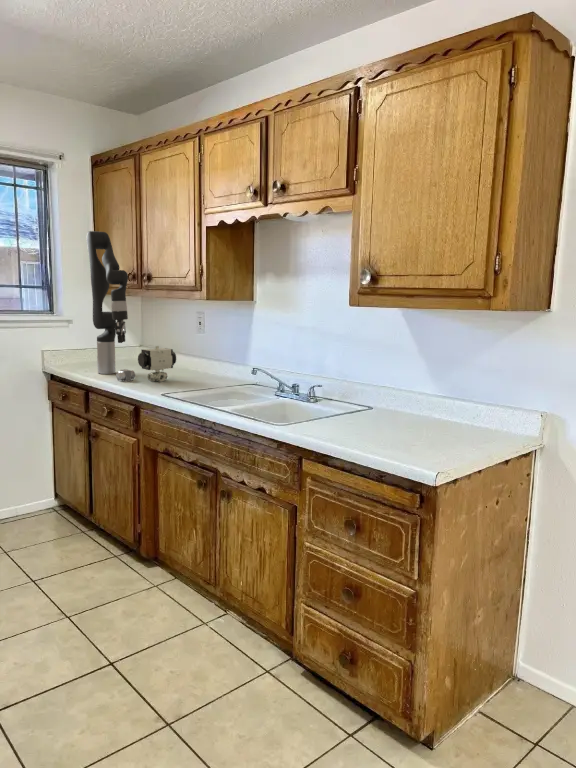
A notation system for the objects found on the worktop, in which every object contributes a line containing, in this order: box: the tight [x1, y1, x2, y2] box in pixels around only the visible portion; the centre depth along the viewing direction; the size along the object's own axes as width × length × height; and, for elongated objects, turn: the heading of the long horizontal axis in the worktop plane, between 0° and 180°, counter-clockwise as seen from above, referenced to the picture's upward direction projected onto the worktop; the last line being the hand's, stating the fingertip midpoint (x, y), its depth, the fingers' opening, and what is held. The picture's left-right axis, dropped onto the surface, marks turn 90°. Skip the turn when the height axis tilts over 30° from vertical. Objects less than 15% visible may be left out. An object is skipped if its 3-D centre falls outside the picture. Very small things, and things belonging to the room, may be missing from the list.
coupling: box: [115, 368, 136, 382], centre depth 288 cm, size 5×8×5 cm
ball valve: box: [137, 345, 177, 383], centre depth 287 cm, size 18×8×18 cm, turn 132°
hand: (121, 342), depth 291 cm, fingers open, 8 cm apart
